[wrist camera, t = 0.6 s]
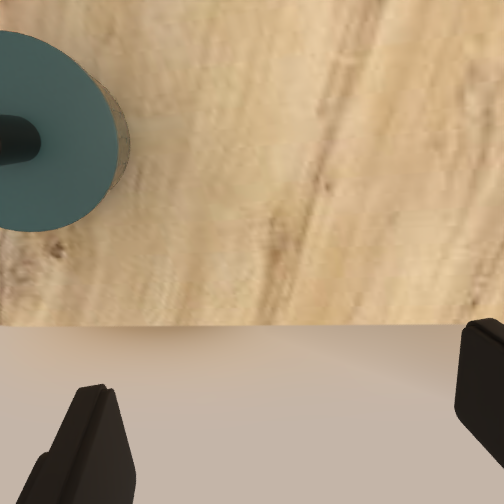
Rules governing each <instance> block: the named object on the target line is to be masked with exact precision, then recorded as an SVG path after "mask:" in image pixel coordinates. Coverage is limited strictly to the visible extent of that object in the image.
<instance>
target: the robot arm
mask: <svg viewBox="0 0 504 504" xmlns="http://www.w3.org/2000/svg"><path fill="white" fill-rule="evenodd" d="M454 408H455V412H456V415H457V417H458V419H459V420H460V421H461V422H462V423H463V425H464V426H465V427H466V428H467V429H468V430H469V431H470V432H471V433H472V434H473V436H474V437H475V438H476V439H477V440H478V441H479V442H480V443H481V444H482V445H483V446H484V448H486V450H487V451H488V452H489V453H490V454H491V455H492V456H493V457H494V458H495V460H496V461H497V462H498V463H499V464H500V465H501V466H502V467H503V468H504V324H502V323H500V322H499V321H497V320H495V319H493V318H486V319H480V320H474V321H470V322H468V324H467V325H466V328H464V329H463V330H462V335H461V346H460V355H459V365H458V375H457V384H456V394H455V404H454ZM135 486H136V471H135V466H134V462H133V459H132V455H131V451H130V447H129V444H128V441H127V436H126V433H125V429H124V425H123V421H122V417H121V414H120V410H119V406H118V402H117V399H116V395H115V392H114V390H113V389H112V388H111V389H107V388H106V386H105V385H104V384H99V385H93V386H87V387H81V388H79V389H78V390H77V392H76V394H75V396H74V398H73V401H72V402H71V405H70V407H69V409H68V411H67V413H66V415H65V418H64V420H63V422H62V424H61V426H60V428H59V431H58V433H57V435H56V437H55V439H54V441H53V444H52V446H51V448H50V450H49V452H45V453H43V454H42V455H41V456H39V458H38V460H37V461H36V463H35V465H34V467H33V469H32V471H31V474H30V475H29V477H28V479H27V482H26V483H25V486H24V488H23V490H22V492H21V494H20V496H19V498H18V500H17V502H16V504H133V498H134V492H135Z"/></svg>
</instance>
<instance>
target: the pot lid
mask: <svg viewBox="0 0 504 504" xmlns="http://www.w3.org/2000/svg"><path fill="white" fill-rule="evenodd" d="M118 160H119V138H118V130H117V126H116V123H115V119H114V116H113V113H112V111H111V108H110V106H109V104H108V102H107V100H106V98H105V96H104V95H103V93H102V91H101V90H100V88H99V87H98V86H97V84H96V83H95V81H94V80H93V79H92V78H91V77H90V76H89V74H88V73H87V72H86V71H85V70H84V69H83V68H82V67H81V66H80V65H78V64H77V63H76V62H75V61H74V60H73V59H71V58H70V57H69V56H67V55H66V54H64V53H63V52H62V51H60V50H58V49H56V48H55V47H53V46H51V45H49V44H48V43H46V42H43V41H41V40H38V39H36V38H34V37H31V36H27V35H24V34H20V33H16V32H9V31H3V30H0V227H1V228H4V229H9V230H15V231H23V232H41V231H48V230H54V229H58V228H61V227H64V226H67V225H69V224H71V223H74V222H76V221H78V220H79V219H81V218H82V217H84V216H85V215H87V214H88V213H89V212H91V211H92V210H93V209H94V208H95V207H96V206H97V205H98V204H99V203H100V202H101V201H102V199H103V198H104V197H105V195H106V194H107V192H108V190H109V189H110V187H111V185H112V182H113V180H114V178H115V174H116V171H117V167H118Z"/></svg>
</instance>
